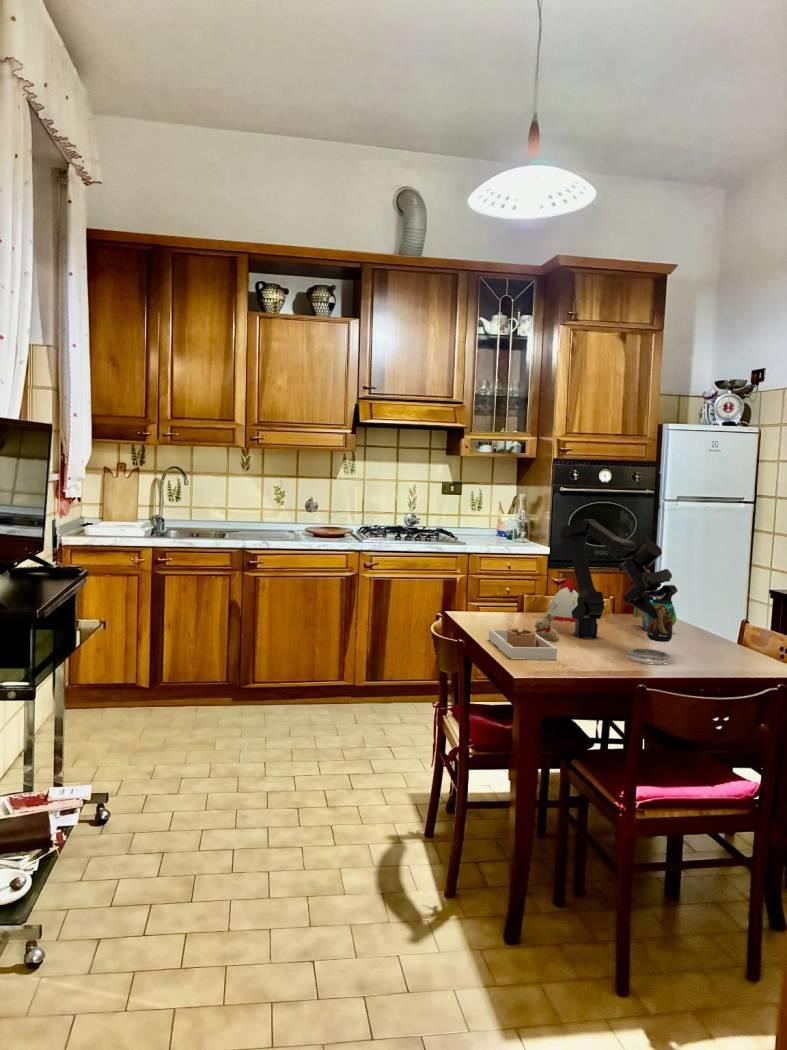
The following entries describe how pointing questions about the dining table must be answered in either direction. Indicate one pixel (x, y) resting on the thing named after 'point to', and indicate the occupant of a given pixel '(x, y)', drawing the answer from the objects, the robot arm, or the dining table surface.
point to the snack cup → (646, 617)
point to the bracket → (521, 638)
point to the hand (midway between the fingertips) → (664, 617)
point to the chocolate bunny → (546, 628)
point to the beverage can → (661, 621)
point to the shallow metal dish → (649, 656)
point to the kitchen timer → (564, 603)
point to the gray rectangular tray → (540, 651)
